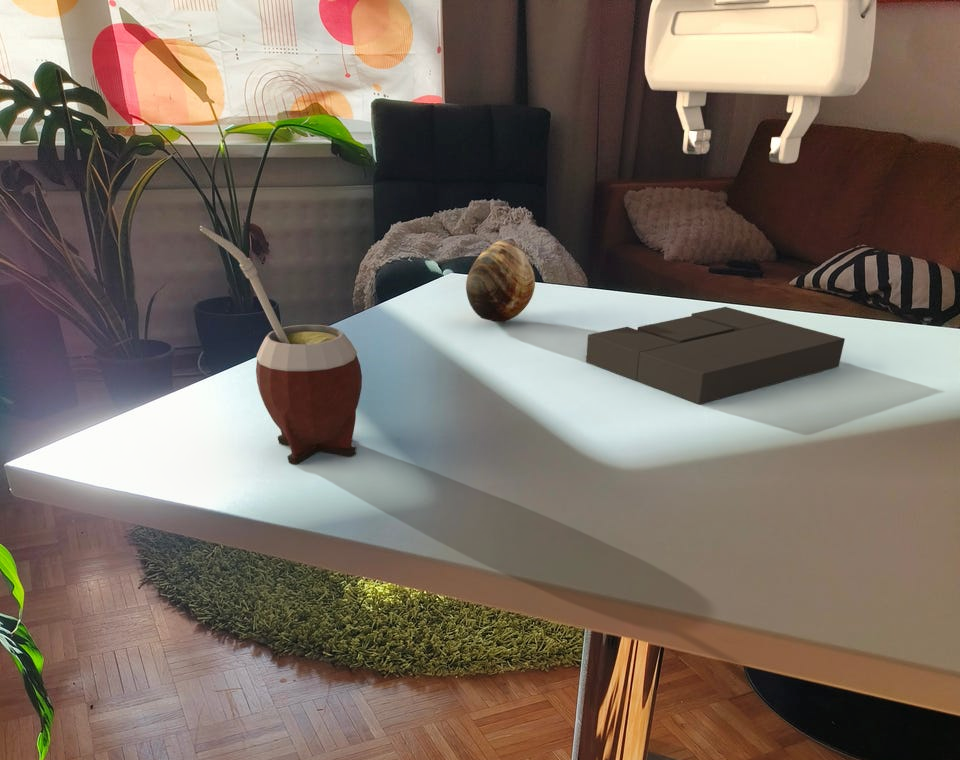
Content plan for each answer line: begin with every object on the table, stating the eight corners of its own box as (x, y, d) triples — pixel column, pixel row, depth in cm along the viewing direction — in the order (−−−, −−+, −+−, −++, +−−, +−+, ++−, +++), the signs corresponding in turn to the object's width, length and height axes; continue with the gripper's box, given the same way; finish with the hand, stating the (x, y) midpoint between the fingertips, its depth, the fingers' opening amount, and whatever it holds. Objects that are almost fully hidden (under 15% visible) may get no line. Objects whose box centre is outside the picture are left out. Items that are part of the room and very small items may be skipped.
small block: (687, 342, 87) (690, 315, 85) (730, 355, 83) (734, 328, 82) (634, 354, 83) (637, 326, 82) (677, 368, 80) (680, 340, 78)
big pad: (721, 332, 90) (725, 306, 88) (839, 366, 80) (845, 338, 79) (585, 362, 81) (587, 334, 80) (699, 404, 72) (703, 373, 70)
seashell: (504, 308, 98) (505, 229, 93) (548, 316, 95) (551, 235, 90) (450, 326, 91) (449, 242, 87) (496, 336, 89) (497, 249, 84)
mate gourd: (383, 439, 65) (370, 215, 57) (325, 478, 59) (300, 235, 51) (298, 424, 68) (273, 207, 59) (234, 460, 62) (195, 225, 54)
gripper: (915, -64, 61) (869, 165, 68) (694, -41, 75) (677, 146, 82) (857, -67, 58) (816, 172, 65) (639, -43, 72) (626, 151, 80)
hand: (737, 158), depth 74 cm, fingers open, 8 cm apart
